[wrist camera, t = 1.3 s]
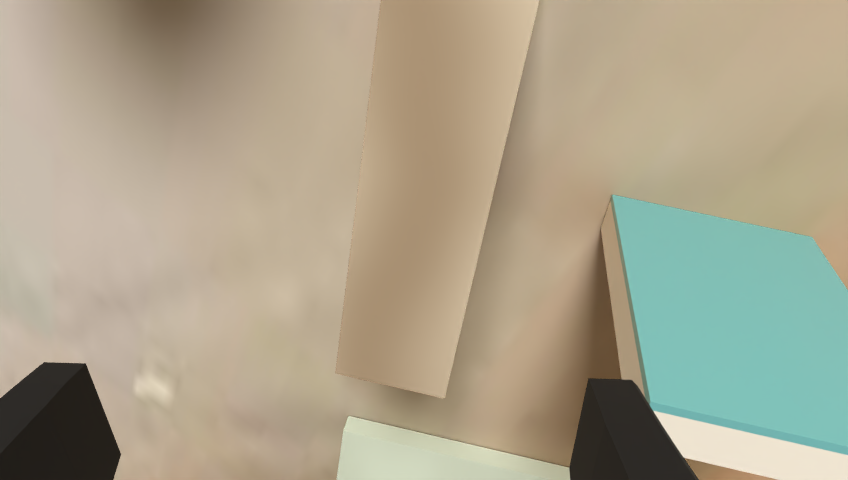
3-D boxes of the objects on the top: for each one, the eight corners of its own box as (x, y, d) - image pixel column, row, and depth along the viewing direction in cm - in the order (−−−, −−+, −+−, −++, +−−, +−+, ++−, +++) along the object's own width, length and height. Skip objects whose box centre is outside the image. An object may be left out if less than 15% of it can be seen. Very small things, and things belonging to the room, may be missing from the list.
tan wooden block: (547, -76, 17) (545, -25, 11) (477, 226, 22) (444, 398, 15) (450, -95, 18) (387, -56, 11) (401, 210, 22) (335, 372, 15)
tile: (811, 236, 20) (972, 474, 13) (794, 270, 21) (937, 515, 13) (612, 194, 21) (650, 401, 13) (600, 228, 21) (630, 445, 14)
